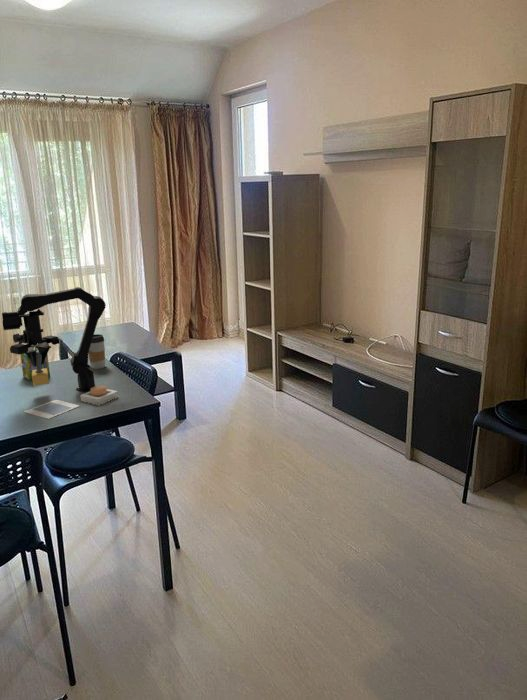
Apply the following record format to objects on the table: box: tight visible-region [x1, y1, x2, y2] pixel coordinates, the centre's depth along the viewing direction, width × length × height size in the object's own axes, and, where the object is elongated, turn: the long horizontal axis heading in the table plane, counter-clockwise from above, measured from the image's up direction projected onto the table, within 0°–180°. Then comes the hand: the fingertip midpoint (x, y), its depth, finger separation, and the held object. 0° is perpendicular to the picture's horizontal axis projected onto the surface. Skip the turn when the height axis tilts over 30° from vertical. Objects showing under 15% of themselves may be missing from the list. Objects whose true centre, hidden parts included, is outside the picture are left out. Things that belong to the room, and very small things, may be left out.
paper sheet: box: [23, 399, 80, 420], centre depth 202 cm, size 14×14×1 cm
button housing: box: [79, 388, 119, 406], centre depth 211 cm, size 10×10×2 cm
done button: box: [91, 385, 108, 397], centre depth 210 cm, size 6×6×2 cm
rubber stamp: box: [32, 352, 50, 387], centre depth 214 cm, size 10×6×12 cm, turn 23°
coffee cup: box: [88, 333, 106, 370], centre depth 251 cm, size 8×8×15 cm
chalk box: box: [19, 347, 51, 382], centre depth 239 cm, size 9×9×15 cm
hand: (38, 365), depth 214 cm, fingers closed on rubber stamp, 3 cm apart
